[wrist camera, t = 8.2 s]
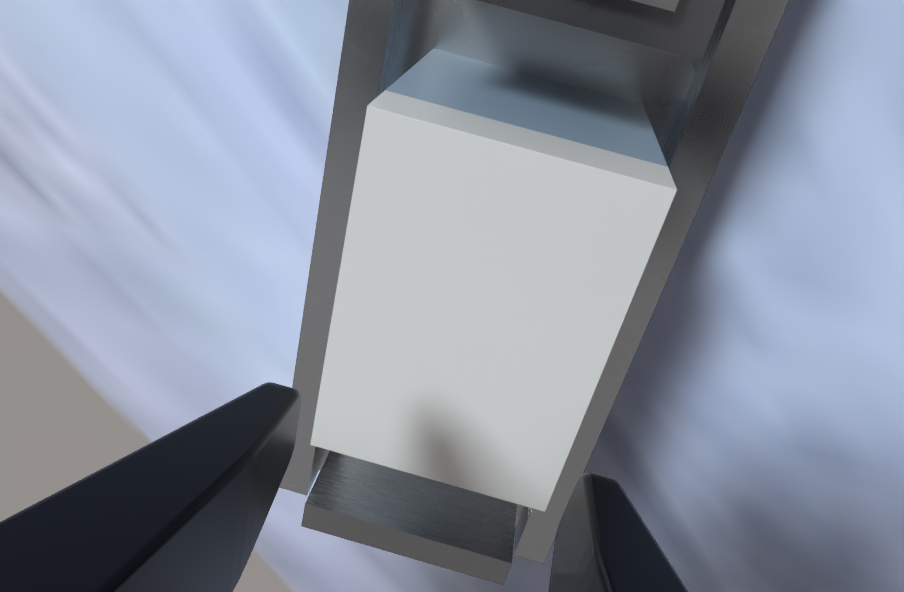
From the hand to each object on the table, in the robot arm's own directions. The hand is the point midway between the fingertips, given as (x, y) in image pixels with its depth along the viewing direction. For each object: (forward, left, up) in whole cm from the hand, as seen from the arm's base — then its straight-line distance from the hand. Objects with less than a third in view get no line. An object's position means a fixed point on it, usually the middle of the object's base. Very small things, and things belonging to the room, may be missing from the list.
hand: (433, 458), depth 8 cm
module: (0, 0, -8) cm, 8 cm away
